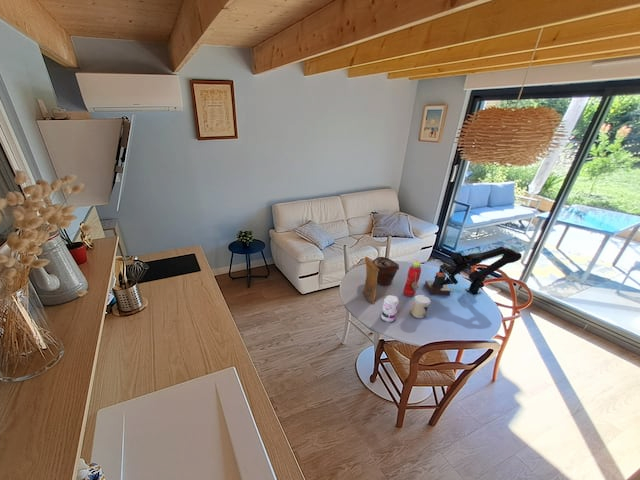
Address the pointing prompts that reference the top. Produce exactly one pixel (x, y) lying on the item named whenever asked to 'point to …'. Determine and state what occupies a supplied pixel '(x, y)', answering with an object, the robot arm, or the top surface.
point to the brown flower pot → (385, 270)
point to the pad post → (439, 280)
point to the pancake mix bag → (370, 280)
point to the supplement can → (389, 308)
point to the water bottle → (412, 279)
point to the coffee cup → (420, 306)
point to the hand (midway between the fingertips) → (437, 281)
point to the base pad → (437, 289)
